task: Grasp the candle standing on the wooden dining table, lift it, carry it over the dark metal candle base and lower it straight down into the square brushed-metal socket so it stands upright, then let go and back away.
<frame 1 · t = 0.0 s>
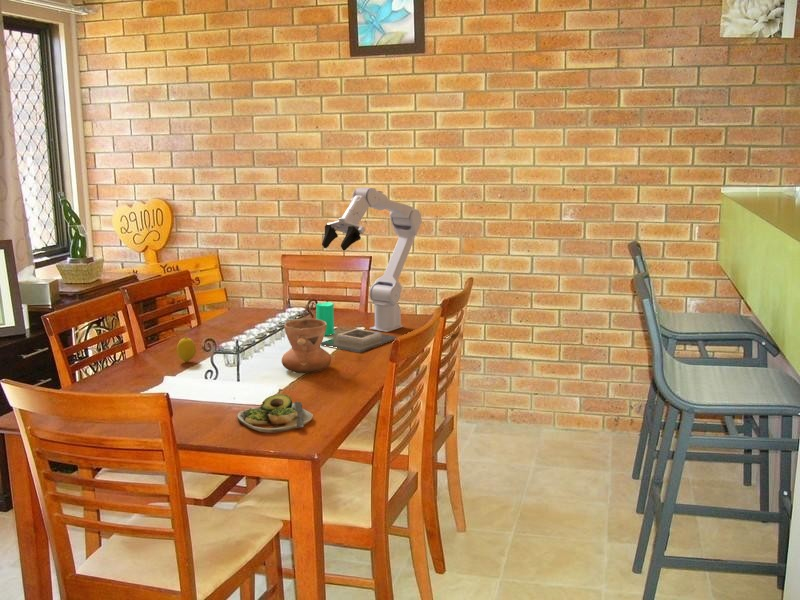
hand: (333, 247, 271), 32 cm above the table, tool tilted 50°, fingers open, 7 cm apart
ceramic jug: (307, 370, 252), on the table
candle base: (359, 342, 281), on the table
lemon: (187, 363, 259), on the table
salad plate: (275, 421, 210), on the table
candle: (325, 334, 293), on the table
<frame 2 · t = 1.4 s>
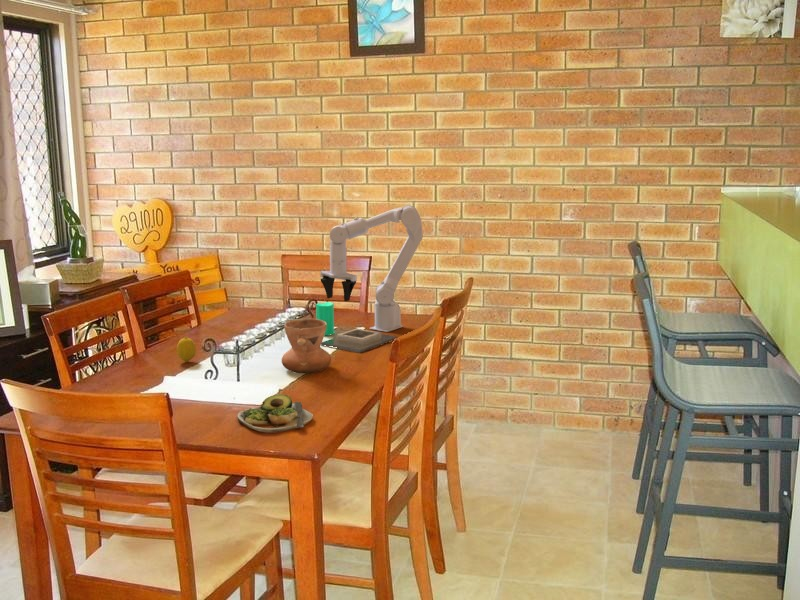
hand: (338, 299, 297), 11 cm above the table, tool pointing down, fingers open, 7 cm apart
nothing on the table moved.
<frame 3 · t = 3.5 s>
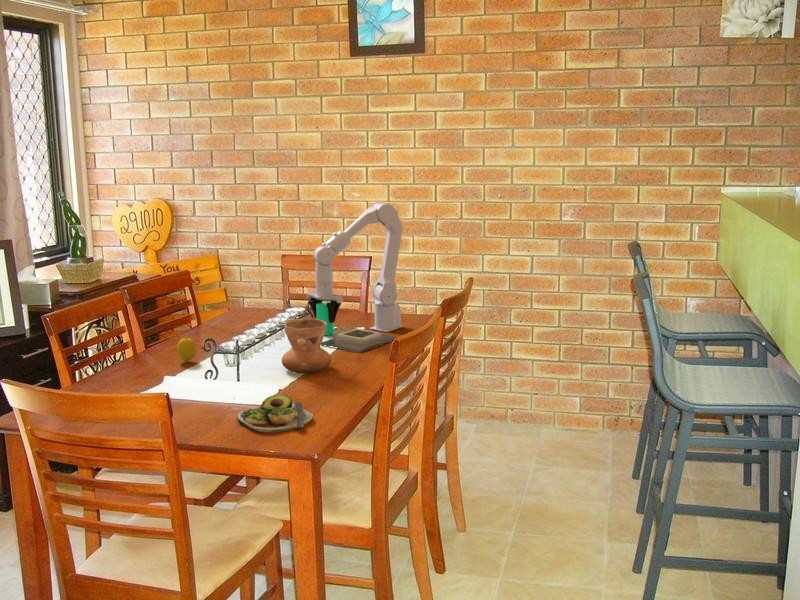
hand: (325, 321, 292), 4 cm above the table, tool pointing down, fingers closed on candle, 6 cm apart
candle: (325, 334, 293), on the table, touching gripper
everything else where it was.
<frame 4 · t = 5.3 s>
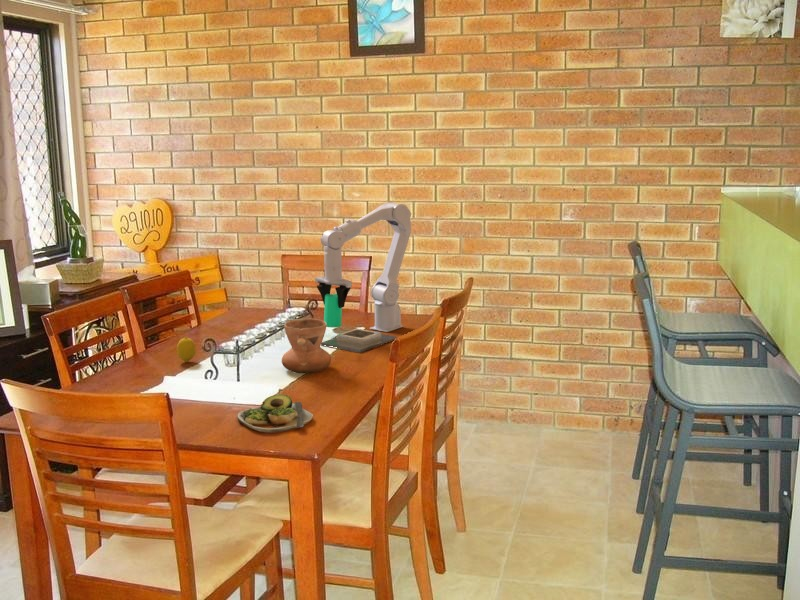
hand: (334, 306, 288), 10 cm above the table, tool pointing down, fingers closed on candle, 6 cm apart
candle: (332, 325, 289), point 4 cm above the table, touching gripper
everything else where it was.
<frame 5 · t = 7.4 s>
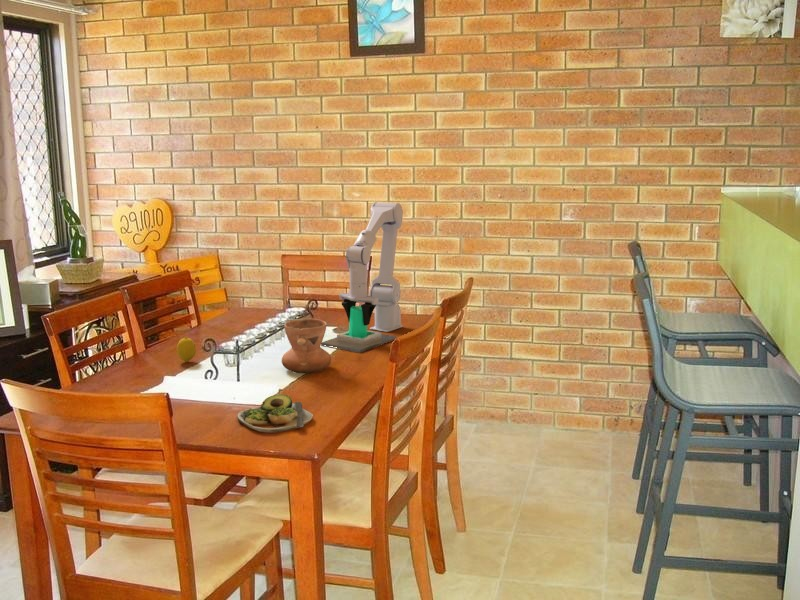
hand: (358, 323, 280), 6 cm above the table, tool pointing down, fingers closed on candle, 6 cm apart
candle: (357, 338, 282), point 1 cm above the table, touching candle base, gripper
everything else where it was.
when the fingers open (6 cm above the table, at t = 7.9 s): candle stays where it is, resting on candle base.
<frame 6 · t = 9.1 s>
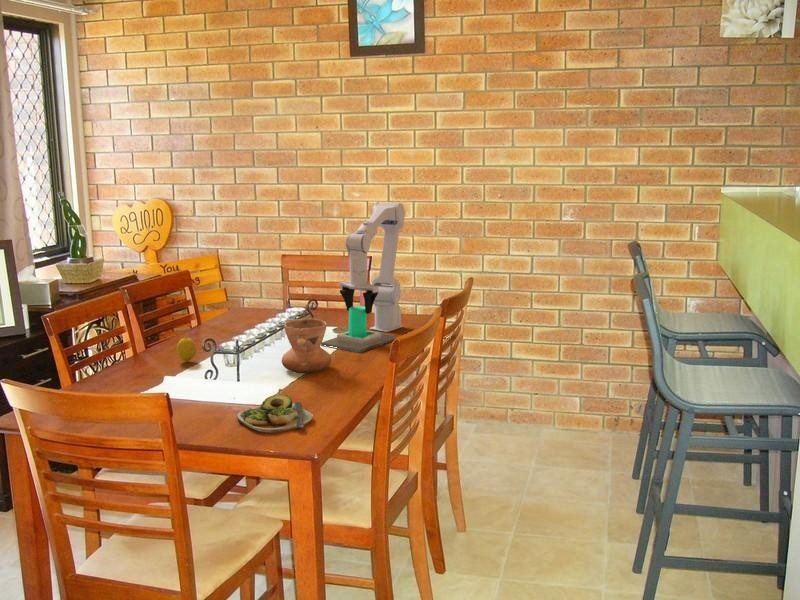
hand: (359, 311, 279), 10 cm above the table, tool pointing down, fingers open, 7 cm apart
candle: (357, 339, 282), point 1 cm above the table, touching candle base, gripper
everything else where it was.
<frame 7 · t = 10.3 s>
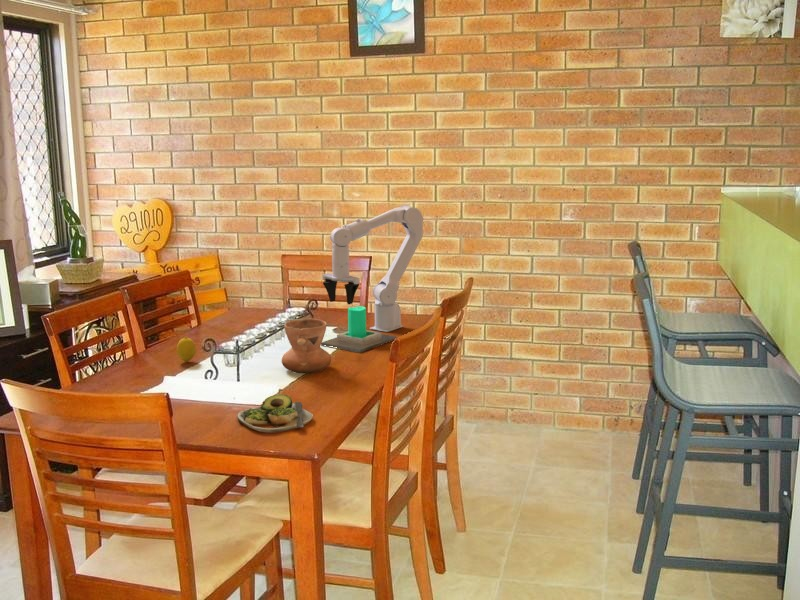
hand: (341, 302, 293), 10 cm above the table, tool pointing down, fingers open, 7 cm apart
candle: (357, 339, 282), point 1 cm above the table, touching candle base
everything else where it was.
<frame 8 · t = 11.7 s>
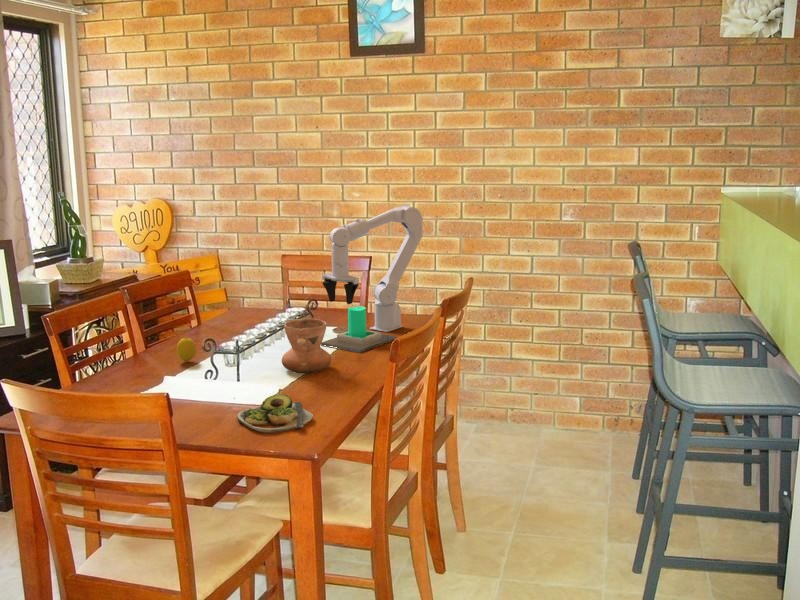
hand: (340, 302, 294), 10 cm above the table, tool pointing down, fingers open, 7 cm apart
nothing on the table moved.
at the end: candle 0.9 cm off-centre on the candle base, point 0.8 cm above the candle base's base; candle tilted 0°; the gripper is holding nothing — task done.
